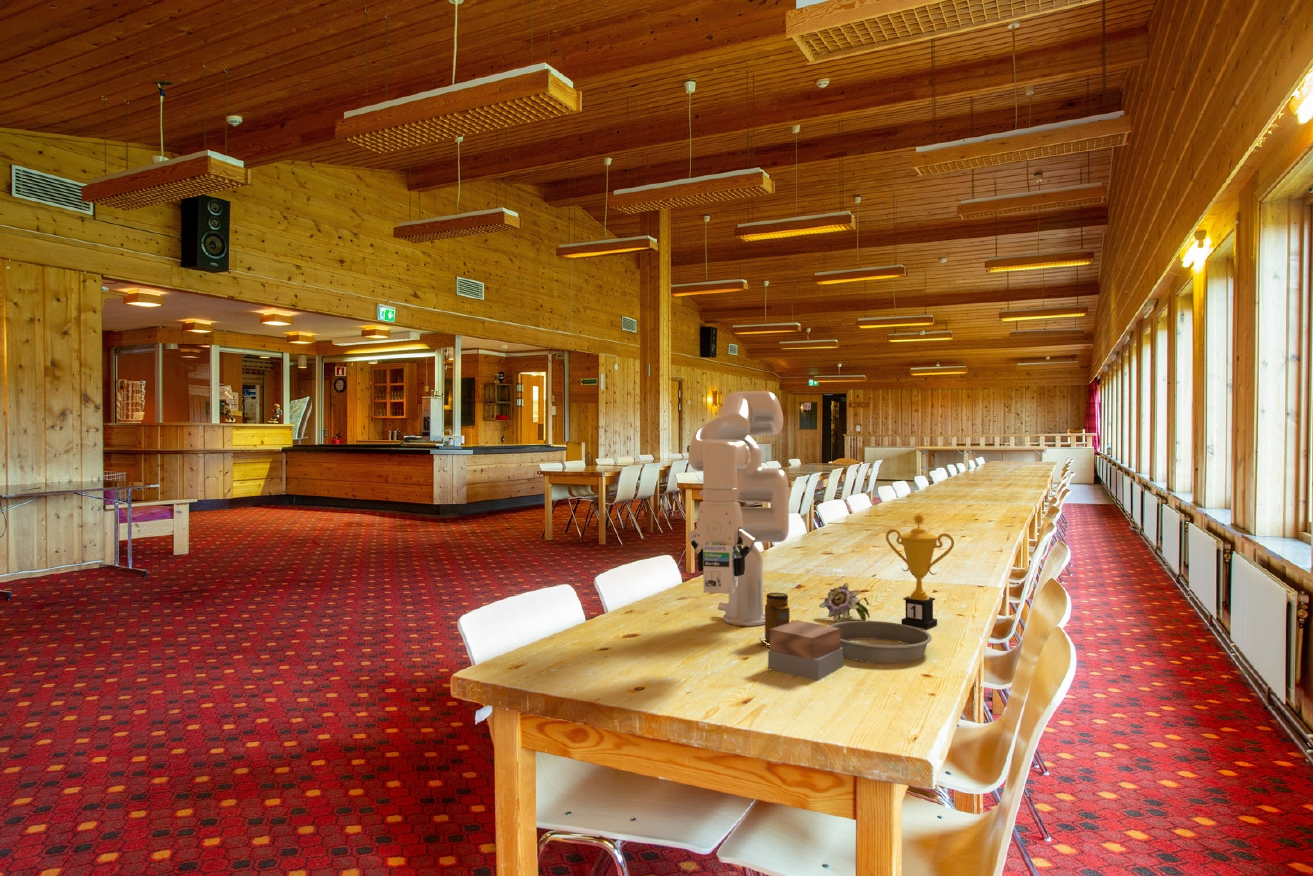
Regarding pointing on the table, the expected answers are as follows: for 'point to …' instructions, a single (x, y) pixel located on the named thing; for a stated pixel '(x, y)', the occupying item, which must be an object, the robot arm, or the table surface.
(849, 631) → the cake pan
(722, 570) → the light bulb box
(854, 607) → the passion flower
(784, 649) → the walnut block
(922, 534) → the trophy
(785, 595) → the condiment
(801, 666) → the grey block
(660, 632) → the table surface
